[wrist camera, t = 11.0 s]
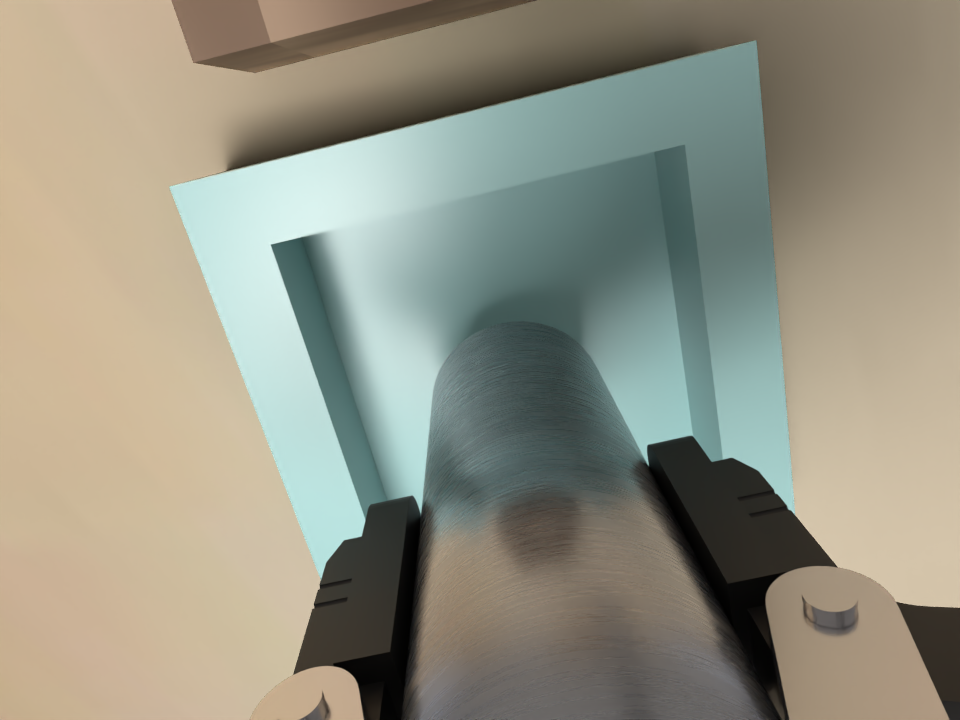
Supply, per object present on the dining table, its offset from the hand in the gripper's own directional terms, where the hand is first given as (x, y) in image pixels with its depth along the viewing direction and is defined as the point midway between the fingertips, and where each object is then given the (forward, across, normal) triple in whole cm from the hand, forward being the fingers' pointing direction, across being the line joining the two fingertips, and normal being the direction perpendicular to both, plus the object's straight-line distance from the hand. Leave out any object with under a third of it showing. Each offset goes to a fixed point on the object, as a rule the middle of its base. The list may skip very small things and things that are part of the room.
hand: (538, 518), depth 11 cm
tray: (+8, 0, 0) cm, 8 cm away
